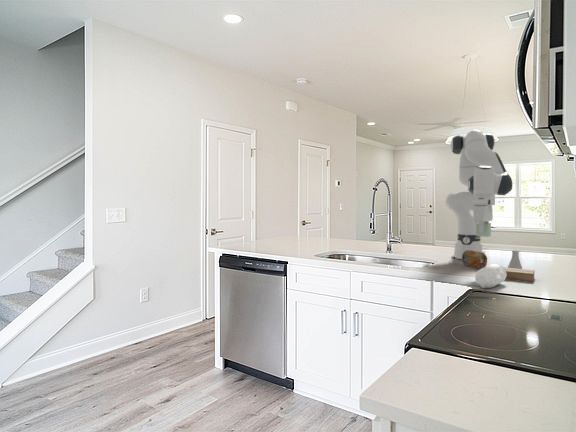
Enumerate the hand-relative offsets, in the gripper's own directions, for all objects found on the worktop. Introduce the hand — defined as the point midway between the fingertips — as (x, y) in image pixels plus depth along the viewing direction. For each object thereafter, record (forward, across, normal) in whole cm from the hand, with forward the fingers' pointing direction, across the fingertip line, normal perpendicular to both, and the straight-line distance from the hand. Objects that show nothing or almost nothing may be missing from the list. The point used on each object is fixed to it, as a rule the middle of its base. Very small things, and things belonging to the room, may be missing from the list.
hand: (483, 231), depth 173 cm
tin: (+20, -18, -8) cm, 28 cm away
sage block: (+2, 0, 0) cm, 2 cm away
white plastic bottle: (+20, +24, +8) cm, 33 cm away
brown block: (+20, +1, +14) cm, 24 cm away
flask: (+20, -17, +10) cm, 28 cm away
